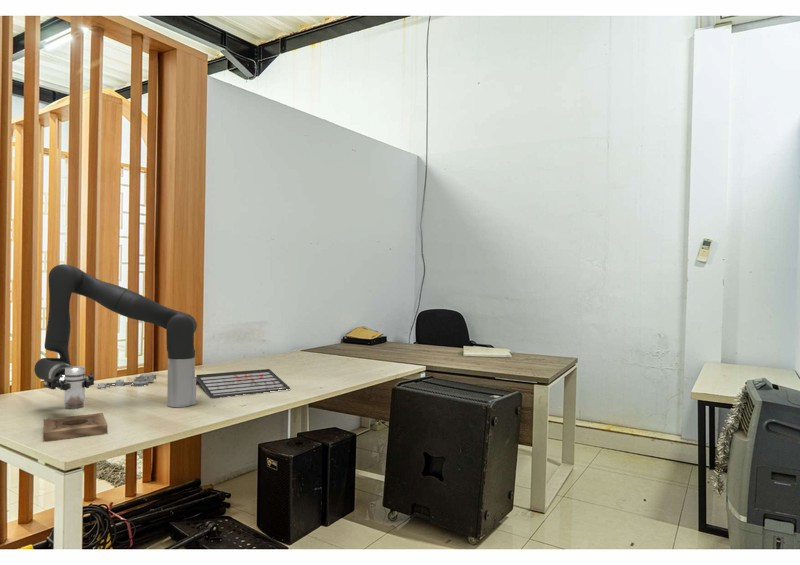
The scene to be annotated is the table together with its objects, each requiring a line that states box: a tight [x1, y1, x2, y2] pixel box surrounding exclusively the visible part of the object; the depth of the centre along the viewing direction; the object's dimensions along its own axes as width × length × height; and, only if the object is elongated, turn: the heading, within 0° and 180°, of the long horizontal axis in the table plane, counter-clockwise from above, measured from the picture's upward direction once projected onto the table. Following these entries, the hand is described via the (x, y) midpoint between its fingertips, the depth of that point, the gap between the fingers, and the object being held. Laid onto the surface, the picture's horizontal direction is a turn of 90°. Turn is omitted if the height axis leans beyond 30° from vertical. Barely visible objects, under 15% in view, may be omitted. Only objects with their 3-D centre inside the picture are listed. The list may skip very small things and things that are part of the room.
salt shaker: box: [63, 365, 86, 410], centre depth 164 cm, size 5×5×12 cm
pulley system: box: [96, 373, 157, 390], centre depth 231 cm, size 27×5×15 cm
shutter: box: [195, 368, 291, 399], centre depth 230 cm, size 32×7×31 cm
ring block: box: [43, 412, 108, 442], centre depth 165 cm, size 16×16×2 cm
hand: (77, 385), depth 162 cm, fingers closed on salt shaker, 5 cm apart
